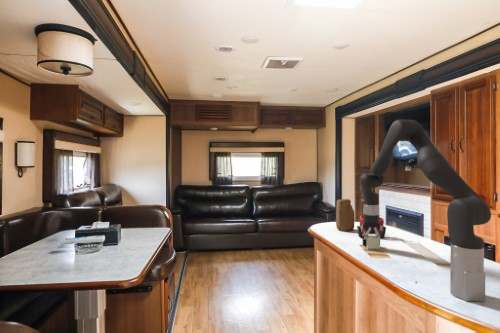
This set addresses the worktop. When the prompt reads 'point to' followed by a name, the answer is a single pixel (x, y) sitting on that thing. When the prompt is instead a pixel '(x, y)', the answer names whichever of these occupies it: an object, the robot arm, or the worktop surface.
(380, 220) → the plant pot
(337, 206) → the block
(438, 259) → the baseboard
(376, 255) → the oak board
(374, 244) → the block
